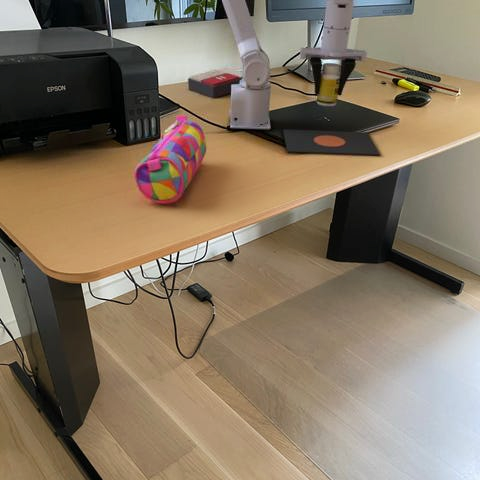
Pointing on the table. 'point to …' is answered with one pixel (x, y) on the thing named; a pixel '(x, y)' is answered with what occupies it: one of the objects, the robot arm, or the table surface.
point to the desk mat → (329, 142)
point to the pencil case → (171, 162)
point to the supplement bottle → (329, 84)
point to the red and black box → (215, 82)
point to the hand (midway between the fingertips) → (327, 93)
